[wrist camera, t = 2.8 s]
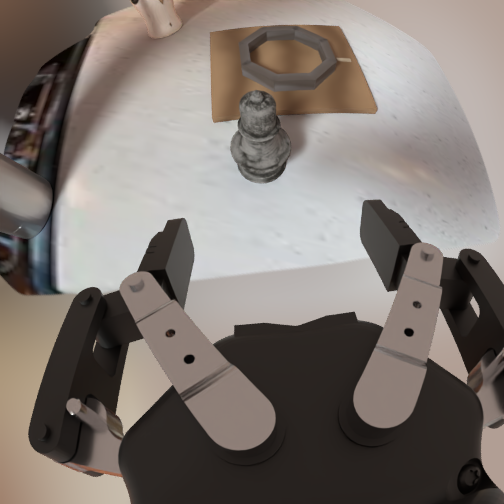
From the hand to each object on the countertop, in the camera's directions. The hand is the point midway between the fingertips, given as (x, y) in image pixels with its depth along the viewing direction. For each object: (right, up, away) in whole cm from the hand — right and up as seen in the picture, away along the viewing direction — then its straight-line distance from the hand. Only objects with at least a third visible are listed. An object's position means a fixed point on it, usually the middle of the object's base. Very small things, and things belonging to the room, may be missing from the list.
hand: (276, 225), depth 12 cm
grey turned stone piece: (0, +9, +17) cm, 19 cm away
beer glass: (-16, +37, +22) cm, 46 cm away
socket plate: (+4, +24, +19) cm, 31 cm away
